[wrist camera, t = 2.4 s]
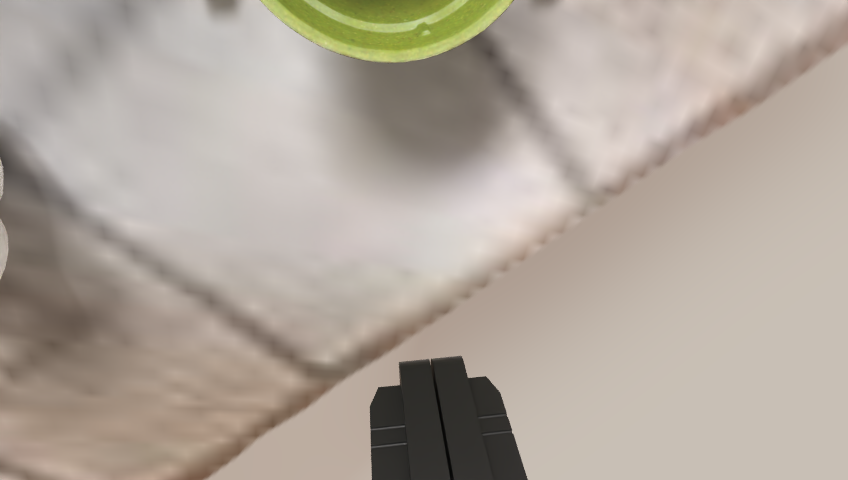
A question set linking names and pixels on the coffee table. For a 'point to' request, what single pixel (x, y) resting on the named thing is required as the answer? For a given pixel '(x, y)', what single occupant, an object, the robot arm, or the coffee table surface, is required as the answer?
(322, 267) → the coffee table surface
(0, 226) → the cat figurine
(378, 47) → the plant pot
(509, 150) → the coffee table surface
